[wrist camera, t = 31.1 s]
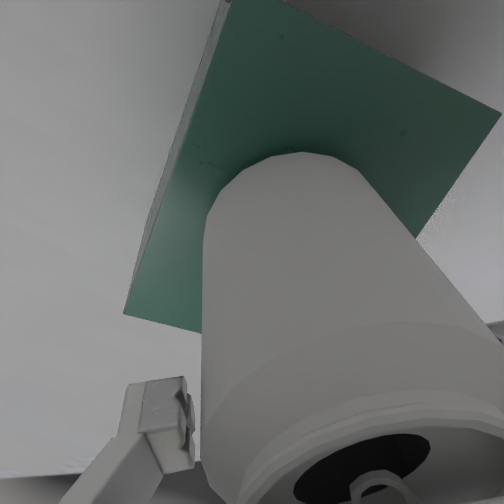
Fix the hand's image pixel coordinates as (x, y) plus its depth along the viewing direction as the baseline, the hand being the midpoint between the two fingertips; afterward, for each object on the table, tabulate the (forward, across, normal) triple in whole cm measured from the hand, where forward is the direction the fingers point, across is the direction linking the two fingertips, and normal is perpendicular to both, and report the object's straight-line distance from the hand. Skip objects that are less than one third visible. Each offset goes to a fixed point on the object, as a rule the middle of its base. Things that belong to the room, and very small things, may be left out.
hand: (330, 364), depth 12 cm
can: (+8, 0, 0) cm, 8 cm away
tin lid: (+8, 0, 0) cm, 8 cm away
